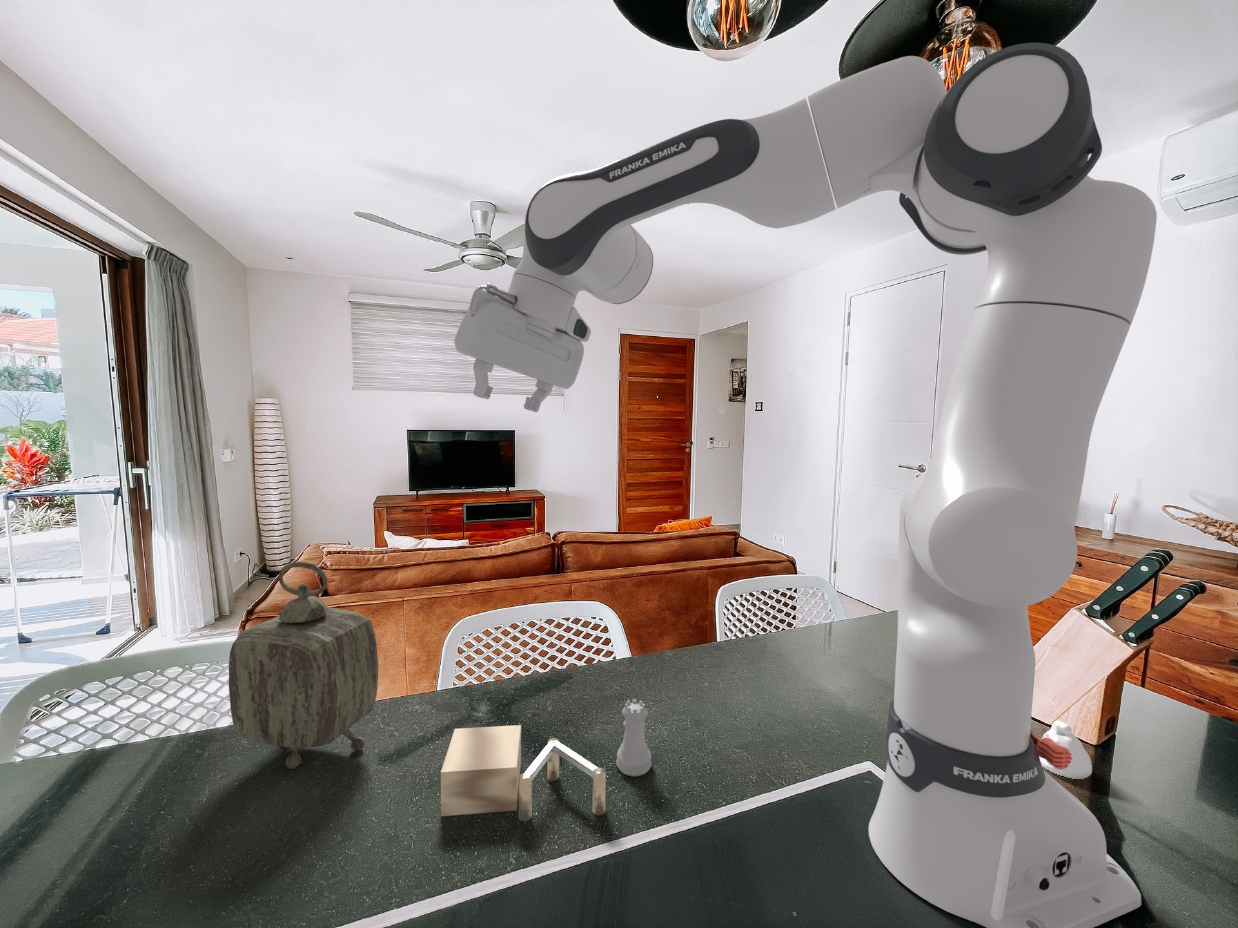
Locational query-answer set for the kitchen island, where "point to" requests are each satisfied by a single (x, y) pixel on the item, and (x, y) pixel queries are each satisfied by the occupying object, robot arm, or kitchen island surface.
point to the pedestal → (481, 771)
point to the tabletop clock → (303, 673)
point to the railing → (552, 759)
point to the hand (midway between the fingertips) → (506, 404)
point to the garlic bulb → (1080, 757)
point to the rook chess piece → (634, 741)
